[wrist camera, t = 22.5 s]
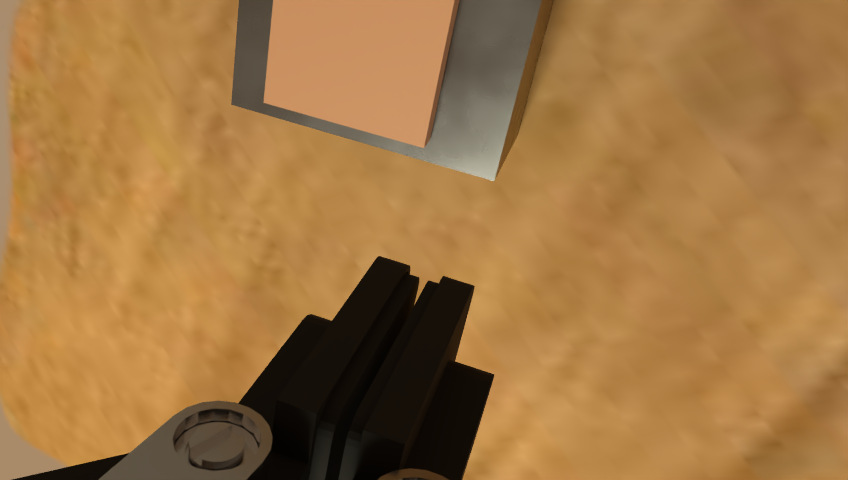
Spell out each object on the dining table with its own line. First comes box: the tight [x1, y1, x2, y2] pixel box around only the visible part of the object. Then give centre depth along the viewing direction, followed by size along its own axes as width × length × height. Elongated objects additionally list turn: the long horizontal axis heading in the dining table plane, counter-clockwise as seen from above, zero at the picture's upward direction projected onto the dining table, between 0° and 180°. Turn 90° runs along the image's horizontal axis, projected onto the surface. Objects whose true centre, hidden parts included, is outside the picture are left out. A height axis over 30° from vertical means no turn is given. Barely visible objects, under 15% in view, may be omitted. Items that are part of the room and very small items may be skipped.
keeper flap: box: [263, 0, 459, 148], centre depth 30 cm, size 7×8×1 cm
